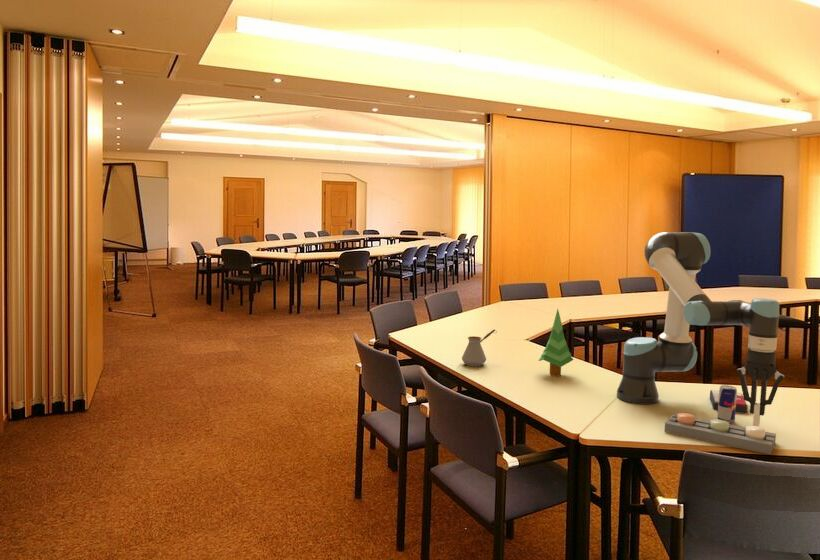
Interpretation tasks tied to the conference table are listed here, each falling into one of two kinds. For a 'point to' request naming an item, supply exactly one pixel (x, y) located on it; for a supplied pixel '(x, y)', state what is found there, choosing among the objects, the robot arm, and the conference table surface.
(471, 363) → the coffee pot
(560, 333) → the decorative tree
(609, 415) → the conference table surface
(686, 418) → the terracotta button
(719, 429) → the sage button
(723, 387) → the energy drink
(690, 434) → the button panel
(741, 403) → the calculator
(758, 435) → the white button
